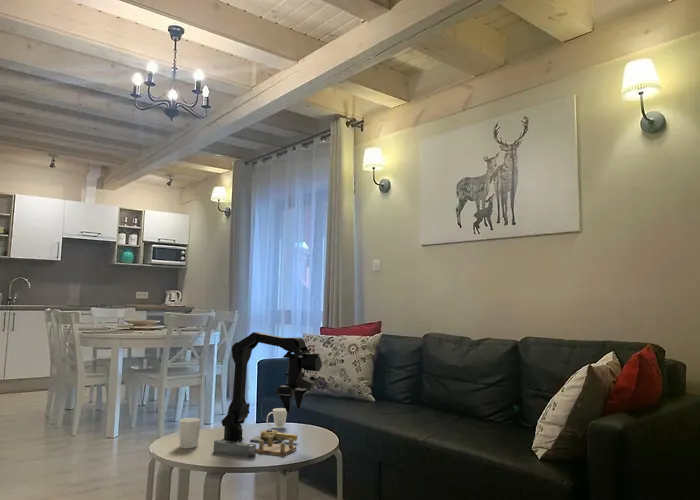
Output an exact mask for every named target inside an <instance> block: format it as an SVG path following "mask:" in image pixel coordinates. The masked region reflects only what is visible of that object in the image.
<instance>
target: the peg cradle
mask: <svg viewBox="0 0 700 500" xmlns="http://www.w3.org/2000/svg"><path fill="white" fill-rule="evenodd" d="M272 441H273V436H269V437H268V444H266V443H264V440H260V441H259V444H258V445H259V446H258V448H257V447H256V454H264V455H271V456H278V455H279V456H278V457H285V455H286V454H287V455H289V454H291V453H293V452H294V451H293V450H295V449H296V450H297V446H294V441H293V439H289V440H288V441H289V442H288V445H286V443H285V442H280V444H278V443H276V444H272ZM296 450H295V451H296ZM292 451H293V452H292ZM290 452H291V453H290ZM288 453H289V454H288ZM287 455H286V456H287Z"/></svg>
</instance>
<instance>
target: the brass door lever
mask: <svg viewBox="0 0 700 500" xmlns="http://www.w3.org/2000/svg"><path fill="white" fill-rule="evenodd" d="M260 435H261V439H263V440H268V437H269V436H273V440H275V439H284V440H283V441H285V440H286V441H289V439H293V442H296V441H298V434H294V433H292V434H291V433H284V432H279V431H278V430H275V429H264V430H261V431H260Z"/></svg>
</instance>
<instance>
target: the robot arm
mask: <svg viewBox="0 0 700 500" xmlns="http://www.w3.org/2000/svg"><path fill="white" fill-rule="evenodd" d="M259 343H261V344H264V345H269V346H274V347H279V348H281V349H283V350H284V351H285V352H286V353H284V355H283V356H282V357H283V358H284V359H287V372H285V375H286V376H287V380H286V381H287V382H285V384H284V385H283V384H282V385H279V386H278V387H277V388H276V394H277V395H278V396H279V398H280V400H281V402H282V405H283V406H284V407H283V408H285V409H286V412H287V413H290V412H291V407H292V401H293V400H292V399H293V398H294V400H295V403H296V408H297V409H301V407H302V403H303V400H304V398H305V395H306V394H308V392H309V391H313V390H314V388H315V386H317V384H318V383H317V377H316V376H314V375H313V376H310V377H309V376H306V375H305V372H306V371H308V372H320V370H321V369H322V364H323V363H322V358H321V356H320V353H318V352H317V353H311V352H310V350H309V349H308V347H307V345H306V341H305V340H304V338H303V337H299V336H298V337H296V336H295V337H293V336H292V337H290V336H289V337H284V336H278V335H273V334H267V333H264V332H260V331H254V332H251V333H250V334H249V335H248V336H246V337H244V338H242V339H241V340H239V341H238V342H237V341H236V342H234V344H233V345H232V346H231V358H232V360H233V362H234V374H233V388H232V389H233V390H232V400H231V402H230V404H229V406H228V409H227V414H226V416H224V417H223V419H221V426H222V427H223V428H224V430H223V432H224V433H223V434H224V435H223V438H222V439H221V440H226V441H234V442H241V441H242V440H244V437H243V428H242V427H243V424H244V423H245V420H246V419H247V418H248V416H249V414H250V406H251V405H250V403H249V402H247V401H246V384H247V368H248V367H247V366H248V363H249V361H250V359H251V356H252V353H253V352H252V351H253V350H254V349H255V348H256V347H258V345H259ZM304 371H305V372H304Z"/></svg>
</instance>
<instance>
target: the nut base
mask: <svg viewBox="0 0 700 500" xmlns="http://www.w3.org/2000/svg"><path fill="white" fill-rule="evenodd" d="M260 440H263V439H261V434H260V435H259V436H255V437H254V438H250V442H251V443H259V441H260ZM282 440H283V441H285V440H284V439H275V440H273V441H272V444H278V442H279V443H281V442H283V441H282ZM280 441H281V442H280ZM264 444H265V445H266V444H268V440H264Z"/></svg>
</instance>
